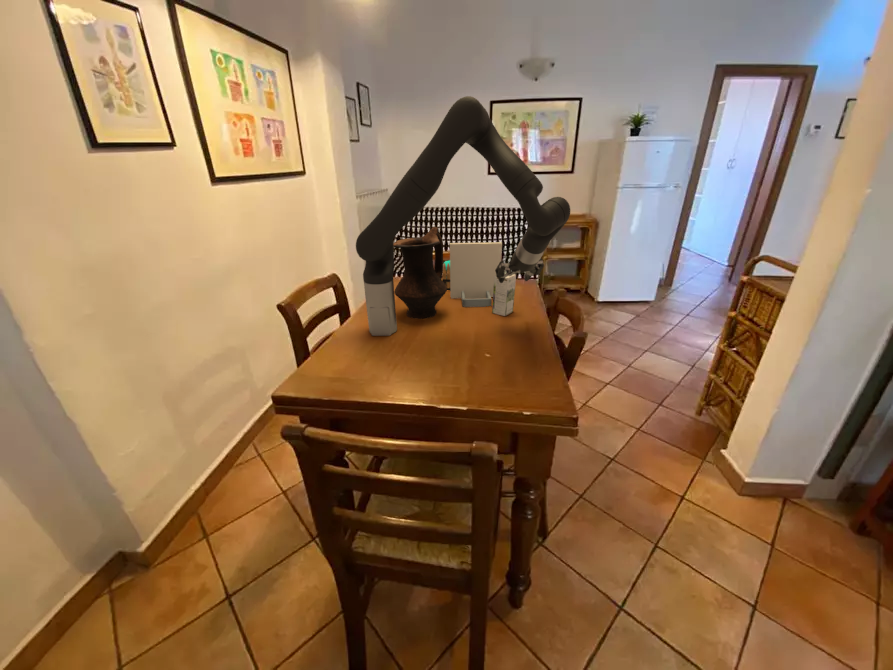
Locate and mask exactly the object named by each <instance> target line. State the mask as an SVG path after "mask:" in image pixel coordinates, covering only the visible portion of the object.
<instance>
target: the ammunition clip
mask: <svg viewBox="0 0 893 670" xmlns="http://www.w3.org/2000/svg"><path fill="white" fill-rule="evenodd" d="M443 263H444V262H443ZM446 276H447V278H446ZM442 281H443V282H444V284H445V285H446V286H447V290H450V266H449V263H448V265H447V270H446V266H445V263H444V264H443V274H442Z"/></svg>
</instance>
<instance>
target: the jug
mask: <svg viewBox="0 0 893 670" xmlns="http://www.w3.org/2000/svg"><path fill="white" fill-rule="evenodd" d="M393 248H396V249H401V256H402V262H403V267H404V273H403V276H402V277H401V279H400V280H399V282H398V283H397V285H396V287H395V288H394V296H396V297H397V298H398V299H400V300H401V301H402V302H403V304H405V306H406V307H407V309H408V310H407V312H406V317H408V318H409V319H413V320H425V319H430V318H433V317H435V316H436V315H437V309H436V306H437V304H438V303H439V301H440V300H441V299H442V297H444V296H445V294H447V293H446V292H448V291H447V286H446V285H445V284H444V282H443V263H444V244H443V240H442V236H441V234H440V229H439V227H436V226H434V227H431V228H430V230H429V231H428V232H427V233H426V234H425V235H423V236H417V237H408V238H402V239H399V240H396V241H395V242H393ZM433 257H434V258H433Z"/></svg>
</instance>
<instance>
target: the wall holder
mask: <svg viewBox="0 0 893 670" xmlns="http://www.w3.org/2000/svg"><path fill="white" fill-rule="evenodd" d="M502 251H503V242H501V241H497V242H496V241H495V242H494V241H493V242H491V241H490V242H450V243H449V260H450V291H449V293H450V297H451V298H450V299H461V304H462V308H473V307H474V308H478V307H480V308H481V307H482V308H484V307H486V306H487V307H488V306H491V307H492V303H493V298H491V297H493V289H494V276H495V275H496V272H495V270H496V268H497V266H498V265H499V263H500V262H501V261H502V253H503V252H502ZM488 308H489V307H488Z"/></svg>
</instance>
